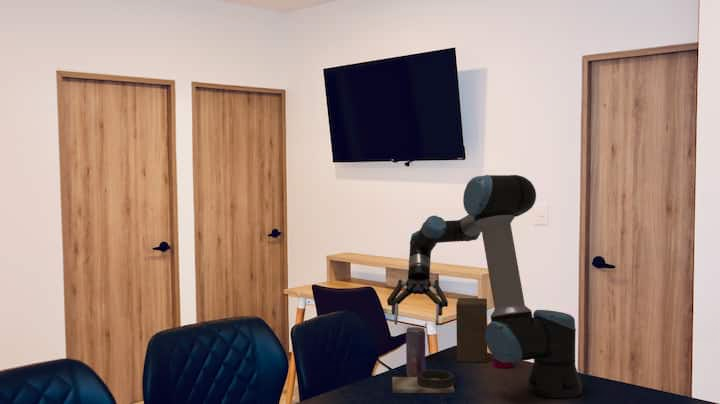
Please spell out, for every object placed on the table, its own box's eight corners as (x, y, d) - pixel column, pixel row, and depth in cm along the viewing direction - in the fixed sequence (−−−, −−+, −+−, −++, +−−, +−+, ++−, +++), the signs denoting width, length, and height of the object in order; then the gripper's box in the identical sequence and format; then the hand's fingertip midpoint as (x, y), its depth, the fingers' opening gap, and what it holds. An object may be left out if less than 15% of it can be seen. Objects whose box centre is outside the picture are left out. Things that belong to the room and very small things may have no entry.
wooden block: (486, 362, 227) (486, 303, 226) (456, 361, 229) (456, 303, 228) (487, 354, 237) (486, 298, 236) (458, 353, 239) (457, 297, 238)
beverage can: (428, 374, 214) (428, 328, 214) (420, 380, 209) (419, 332, 209) (412, 372, 218) (411, 326, 217) (403, 377, 212) (402, 329, 212)
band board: (451, 380, 209) (451, 369, 209) (455, 392, 197) (455, 381, 197) (392, 380, 209) (392, 369, 209) (392, 392, 198) (392, 381, 197)
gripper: (455, 277, 236) (454, 329, 222) (384, 276, 240) (379, 328, 226) (455, 264, 231) (454, 317, 217) (382, 263, 235) (377, 315, 221)
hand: (416, 322), depth 221 cm, fingers open, 13 cm apart
